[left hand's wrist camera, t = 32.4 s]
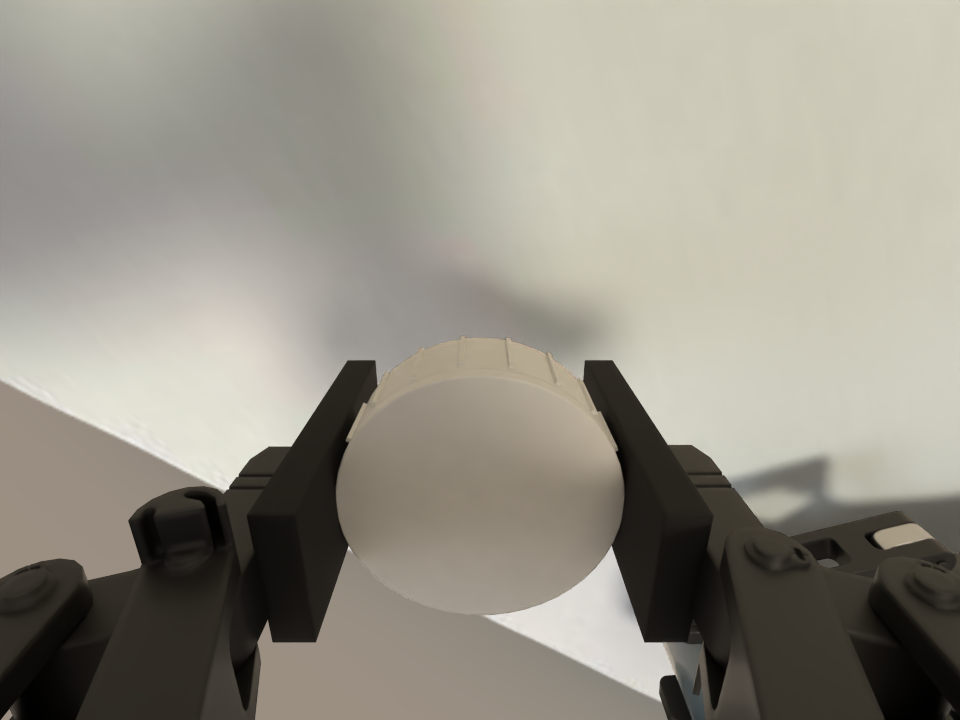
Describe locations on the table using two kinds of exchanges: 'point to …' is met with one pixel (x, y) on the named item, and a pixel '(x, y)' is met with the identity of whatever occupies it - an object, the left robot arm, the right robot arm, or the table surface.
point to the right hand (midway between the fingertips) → (669, 662)
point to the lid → (480, 479)
